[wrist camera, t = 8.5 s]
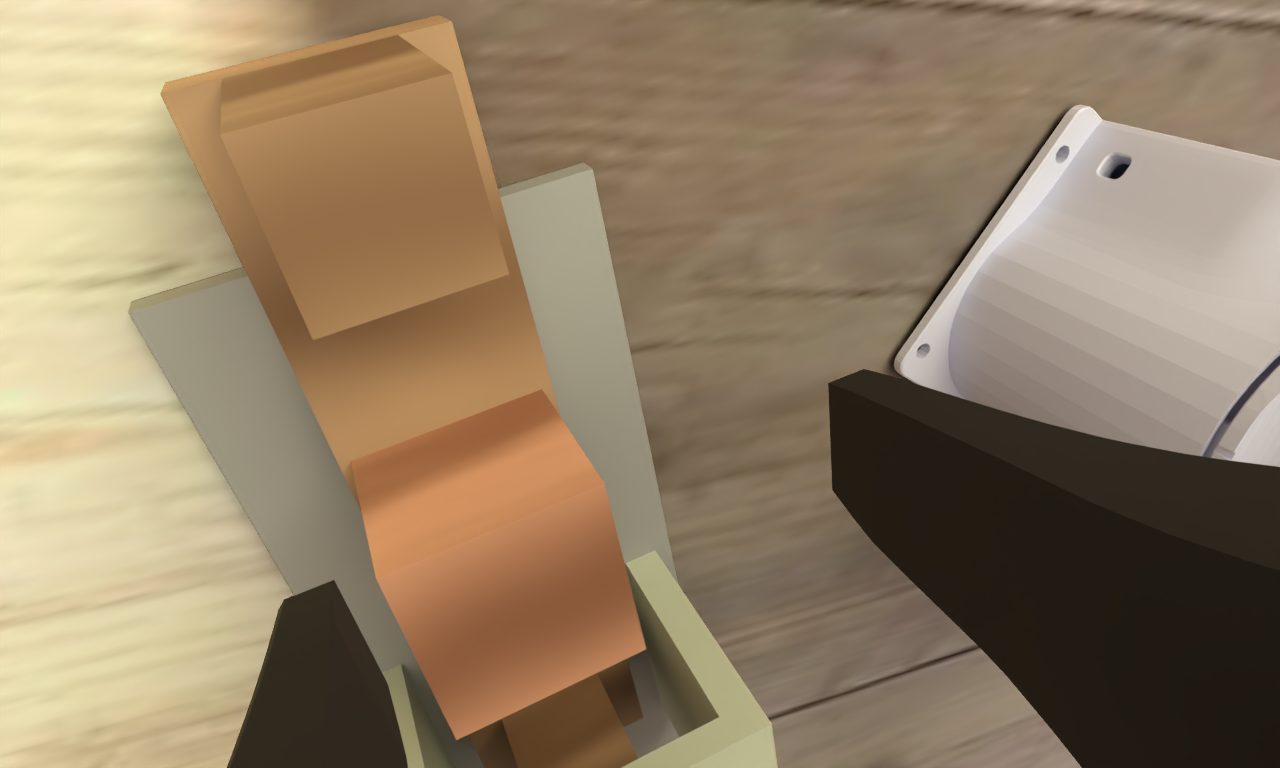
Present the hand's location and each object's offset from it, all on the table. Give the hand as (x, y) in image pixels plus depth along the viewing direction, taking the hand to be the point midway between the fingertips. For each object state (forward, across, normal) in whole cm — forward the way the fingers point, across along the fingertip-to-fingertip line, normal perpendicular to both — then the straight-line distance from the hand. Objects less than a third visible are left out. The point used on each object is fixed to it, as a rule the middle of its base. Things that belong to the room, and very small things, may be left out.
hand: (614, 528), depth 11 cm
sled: (+10, +1, +5) cm, 11 cm away
